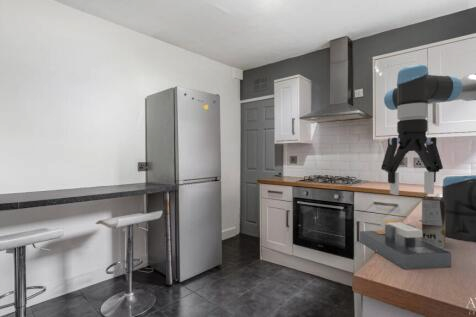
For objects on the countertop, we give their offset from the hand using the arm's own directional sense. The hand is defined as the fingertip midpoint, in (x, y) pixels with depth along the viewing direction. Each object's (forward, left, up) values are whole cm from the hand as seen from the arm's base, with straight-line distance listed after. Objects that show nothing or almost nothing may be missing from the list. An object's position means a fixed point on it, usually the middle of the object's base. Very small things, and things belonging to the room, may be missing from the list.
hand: (411, 193), depth 78 cm
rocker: (0, -5, -13) cm, 14 cm away
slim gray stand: (-10, -6, -20) cm, 23 cm away
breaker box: (0, -5, -20) cm, 20 cm away
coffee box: (-18, -12, -20) cm, 29 cm away
